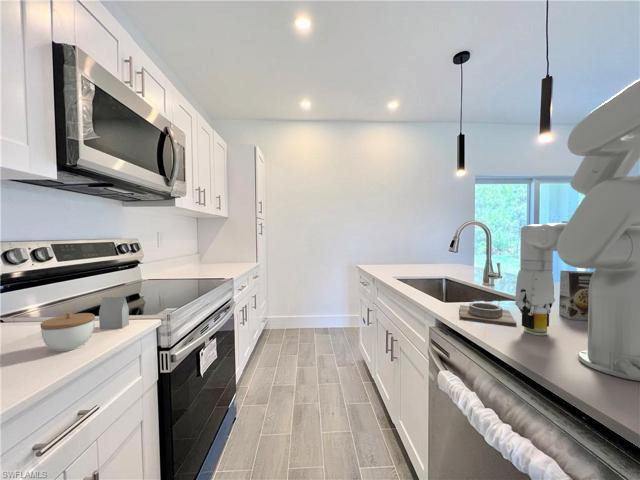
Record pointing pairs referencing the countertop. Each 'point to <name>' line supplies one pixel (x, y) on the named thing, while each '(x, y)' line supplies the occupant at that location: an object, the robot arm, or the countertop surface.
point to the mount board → (486, 314)
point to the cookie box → (574, 294)
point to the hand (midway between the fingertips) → (535, 325)
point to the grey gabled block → (113, 313)
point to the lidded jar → (67, 331)
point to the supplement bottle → (538, 321)
